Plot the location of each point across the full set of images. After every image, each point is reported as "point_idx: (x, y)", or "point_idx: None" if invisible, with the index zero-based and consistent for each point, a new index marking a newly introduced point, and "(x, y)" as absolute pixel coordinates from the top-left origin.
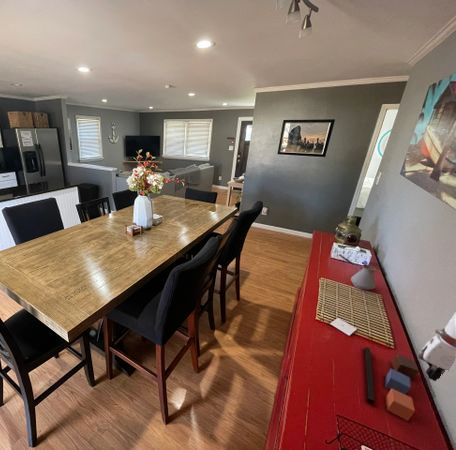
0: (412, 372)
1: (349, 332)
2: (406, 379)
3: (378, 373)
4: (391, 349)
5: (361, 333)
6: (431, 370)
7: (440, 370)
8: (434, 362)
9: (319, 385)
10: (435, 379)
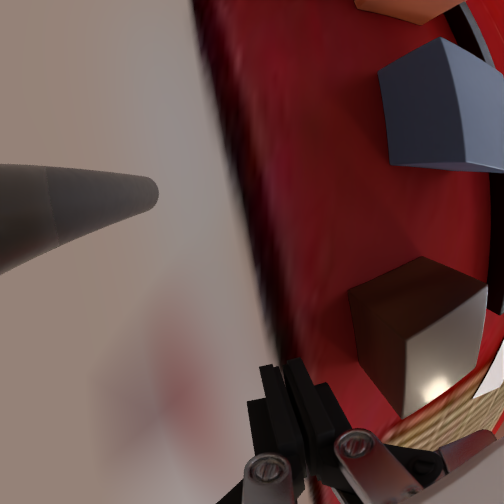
0: (405, 307)
1: (500, 352)
2: (473, 116)
3: (470, 177)
4: (395, 420)
5: (467, 392)
6: (338, 426)
7: (294, 479)
8: (489, 496)
9: (496, 9)
10: (269, 377)
